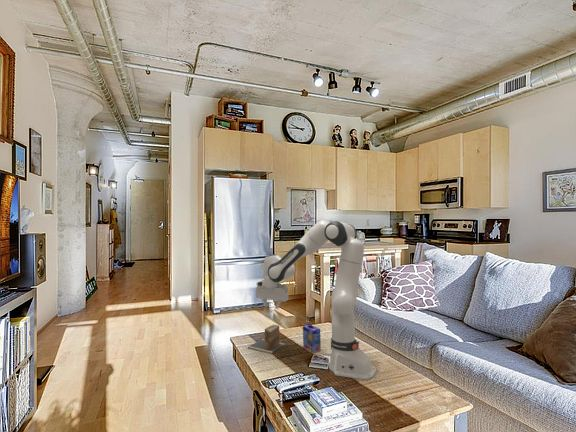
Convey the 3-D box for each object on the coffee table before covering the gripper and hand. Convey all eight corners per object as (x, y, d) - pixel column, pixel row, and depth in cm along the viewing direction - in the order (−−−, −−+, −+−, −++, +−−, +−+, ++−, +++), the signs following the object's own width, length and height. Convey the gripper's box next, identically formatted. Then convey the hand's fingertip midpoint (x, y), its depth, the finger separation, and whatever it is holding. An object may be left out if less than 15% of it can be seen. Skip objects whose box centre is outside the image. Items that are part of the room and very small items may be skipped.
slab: (279, 344, 190) (279, 325, 190) (270, 350, 182) (270, 330, 182) (273, 343, 192) (273, 324, 192) (264, 348, 184) (264, 328, 184)
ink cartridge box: (302, 347, 188) (302, 321, 188) (310, 344, 192) (309, 320, 192) (313, 352, 180) (313, 326, 180) (321, 350, 183) (320, 324, 184)
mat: (284, 345, 191) (284, 343, 191) (271, 353, 179) (271, 352, 179) (261, 340, 199) (261, 338, 199) (247, 348, 187) (247, 346, 187)
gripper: (290, 283, 185) (290, 308, 185) (260, 280, 195) (260, 304, 195) (284, 285, 180) (284, 311, 179) (254, 282, 190) (254, 306, 190)
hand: (271, 307), depth 187 cm, fingers open, 6 cm apart
